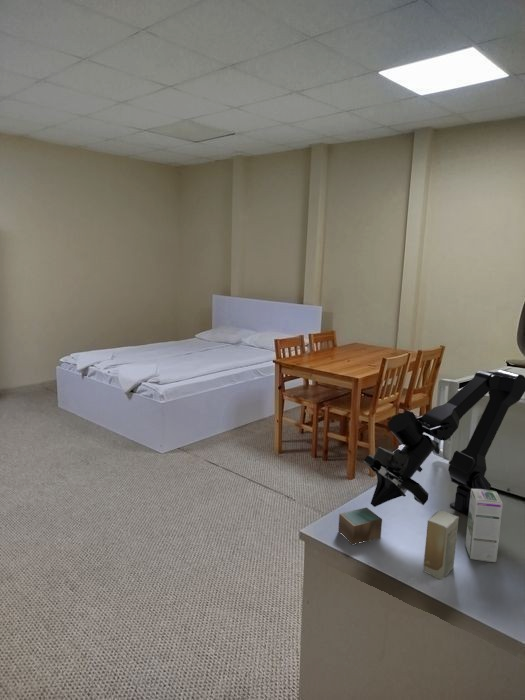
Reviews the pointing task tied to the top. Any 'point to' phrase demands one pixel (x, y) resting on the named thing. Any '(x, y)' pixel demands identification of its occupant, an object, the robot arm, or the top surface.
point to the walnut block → (360, 525)
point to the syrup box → (483, 525)
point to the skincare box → (440, 544)
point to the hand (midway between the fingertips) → (372, 505)
